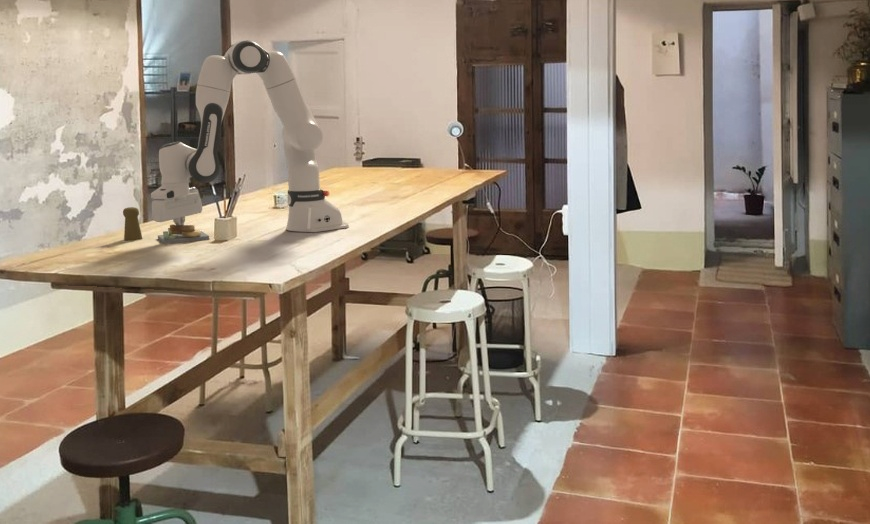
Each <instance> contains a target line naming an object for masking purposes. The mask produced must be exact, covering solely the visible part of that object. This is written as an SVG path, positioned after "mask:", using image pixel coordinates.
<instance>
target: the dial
mask: <svg viewBox="0 0 870 524" xmlns="http://www.w3.org/2000/svg"><path fill="white" fill-rule="evenodd" d="M169 228H170V234H171V235H182V237H197V236H200V235H201V234H200V231H201V230H199V229H196V227H195V225H194V224H189V225H188V224H186V225H185V224H184V225H175V224H170V225H169Z"/></svg>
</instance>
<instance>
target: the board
mask: <svg viewBox="0 0 870 524" xmlns="http://www.w3.org/2000/svg"><path fill="white" fill-rule="evenodd" d="M200 234H201V235H200V236H197V237H182V235H171V234H170V227H168V228H167V230H165V231H162V234H159V235H157V240H159V241H160V242H162V243H163V244H164V245H167V244H175V243H176V244H177V243H186V242H196V241H204V240H205V241H206V240H210V235H209V234H207V233H205V232H204V231H202V230H200Z"/></svg>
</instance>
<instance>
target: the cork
mask: <svg viewBox="0 0 870 524" xmlns="http://www.w3.org/2000/svg"><path fill="white" fill-rule="evenodd" d="M139 215H140V212H139V209H138V208H137V207H133V206H130V207H125V208H124V209H123V211H122V216H124V234H123V235H124V236H123V240H124V241H126V242H127V241H128V242H129V241H130V242H131V241H132V242H133V241H141V240H143V235H142V230H141V226H140V221H139V218H138V217H139Z"/></svg>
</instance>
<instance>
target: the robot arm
mask: <svg viewBox="0 0 870 524" xmlns="http://www.w3.org/2000/svg"><path fill="white" fill-rule="evenodd" d="M250 74H256V75H258V76H259V77H260V79H261V80H262V82H263V85H264V88H265V91H266V93H267V95H268V98H269V101H270V103H271V105H272V108H273V110H274V112H275V113H276V115H277V116H278V118H279V120H280V121H281V123H282V125H283V128H282V130H281V138H282V142H283V149H284V156H285V161H286V168H287V181H288V182H287V183H288V190H287V196H286V197H287V206H288V214H287V222H286V226H285V227H286V228H285V230H287V231H290V232H302V233H304V232H305V233H307V232H308V233H319V232H326V231H333V230H339V229H347V228H349V227H350V225H349V223H348V222H346V221H343V216H342V212H341V211H340V209H339V208H338V207H336V206H335V205H334V204H332V203H331V202H330V201H329V200H327V199H325V198H326V197H329V196H330V192H329V190H324V189H321V186H320V184H321V183H320V167H319V164H318V160H317V156H316V149H318V148H319V147H320V146H321V144H322V142H323V138H324V137H323V132H322V130H321V127H320V126H319V124H318V122H317V121H316V118H315V116H314V114H313V112H312V111H311V109H310V107H309V105H308V103H307V102H306V99H305V98H304V95H303V92H302V91H301V88H300V85H299V83H298V80H297V77H296V76H295V73H294V71H293V69H292V67H291V65H290V63H289V61H288V60H287V58H286V57H285V55H284V53H282V52H280V51H277V50H273V51H272V50H271V51H267V50H266V49H264V48H263V47H262V46H261V45H259V44H258V43H257V42H255V41H253V40H249V39H248V40H239V41H236V42H234V43H233V44H232V45H230V46H229V47H227V49H226V50H225V51H224V53H223V54H222V55H219V54H218V55H217V54H215V55H214V54H212V55H209V56H207V57H206V58H205V59H204V61H203V64H202V65H201V68H200V71H199V75H198V78H197V84H196V89H195V107H196V109H197V111H198V114H199V117H200V132H199V136H198V145H197V148H194V147H191V146H189V145H186V144H185V143H183V142H182V141H173V142H169V143H166V144H163V145H161V146H160V148H159V151H158V165H159V172H160V174H161V181H160V182H161V186H160V187H158V188H156V189H155V190H153V191H152V192H151V193H150V198H151V200H152V202H151V213H152V214H151V215H152V219H153V221H155V222H156V223H165V222H168V221H173V223H174V225H185V222H186V217H188V216H190V217H191V216H194V215H197V214H201V213H202V211H203V204H202V199H201V196H200V193H199V189H198V188H196V187H195V186H191V187H190V183H189V179H190V178H192V179H193V180H194V181H196V182H198V183H201V184H206V183H207V184H208V183H211V182H213V181H215V180H216V179H217V178H218V177H219V174H220V171H221V164H220V159H219V155H218V154H219V153H218V148H219V143H220V141H219V140H220V134H221V128H222V122H223V120H224V116H225V113H226V109H227V106H228V103H229V100H230V95H231V90H232V84H233V80H234V78H235V77H236V76H238V75H250Z"/></svg>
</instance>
